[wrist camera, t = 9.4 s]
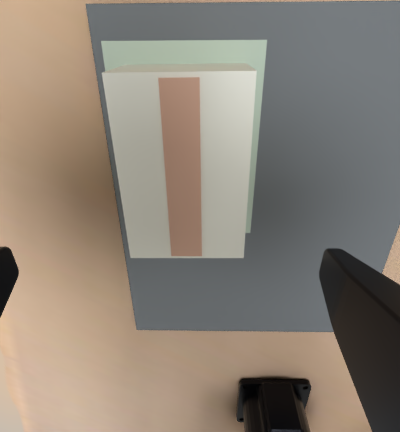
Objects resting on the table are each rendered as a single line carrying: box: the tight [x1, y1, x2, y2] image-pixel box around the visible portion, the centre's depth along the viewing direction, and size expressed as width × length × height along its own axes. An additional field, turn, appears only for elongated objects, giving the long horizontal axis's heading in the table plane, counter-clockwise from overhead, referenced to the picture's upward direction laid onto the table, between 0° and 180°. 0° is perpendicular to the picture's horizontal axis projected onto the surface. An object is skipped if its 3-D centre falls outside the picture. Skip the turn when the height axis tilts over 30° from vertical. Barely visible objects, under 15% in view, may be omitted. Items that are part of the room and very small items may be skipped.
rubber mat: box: [86, 1, 400, 332], centre depth 20 cm, size 22×18×1 cm
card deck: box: [102, 63, 257, 258], centre depth 16 cm, size 6×9×4 cm, turn 1°
